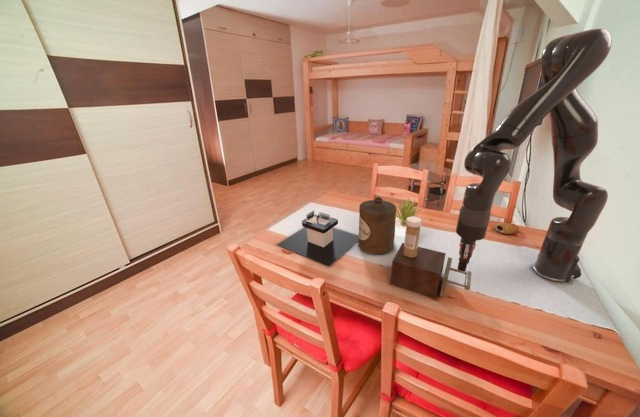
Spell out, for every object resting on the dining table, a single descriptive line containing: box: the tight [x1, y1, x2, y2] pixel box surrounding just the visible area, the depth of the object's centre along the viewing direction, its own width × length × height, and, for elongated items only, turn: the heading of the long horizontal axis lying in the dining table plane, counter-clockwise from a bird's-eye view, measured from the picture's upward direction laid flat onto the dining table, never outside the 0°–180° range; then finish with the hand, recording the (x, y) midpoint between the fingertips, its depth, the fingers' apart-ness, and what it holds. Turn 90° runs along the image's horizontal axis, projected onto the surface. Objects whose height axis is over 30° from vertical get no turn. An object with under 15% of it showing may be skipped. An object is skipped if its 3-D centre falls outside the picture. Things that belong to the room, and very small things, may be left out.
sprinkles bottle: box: [403, 215, 422, 258], centre depth 86 cm, size 5×5×13 cm
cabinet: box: [389, 242, 447, 299], centre depth 89 cm, size 15×13×10 cm
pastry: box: [494, 221, 520, 235], centre depth 118 cm, size 9×7×4 cm
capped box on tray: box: [277, 209, 359, 267], centre depth 114 cm, size 28×26×13 cm
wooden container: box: [358, 196, 397, 255], centre depth 108 cm, size 15×15×22 cm
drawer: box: [439, 256, 472, 298], centre depth 86 cm, size 20×11×8 cm, turn 59°
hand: (461, 269), depth 82 cm, fingers closed
